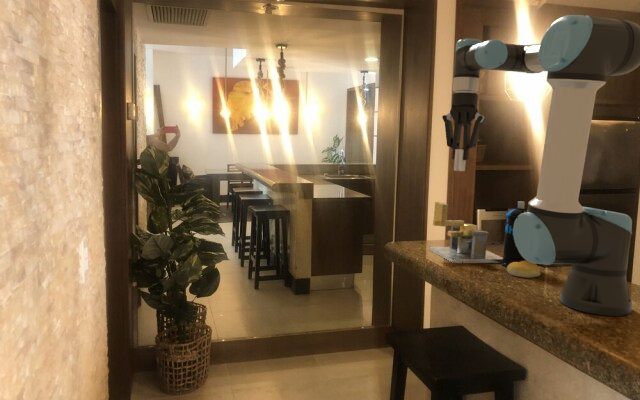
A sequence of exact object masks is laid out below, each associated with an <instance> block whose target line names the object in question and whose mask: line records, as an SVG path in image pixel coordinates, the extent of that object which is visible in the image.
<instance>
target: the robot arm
mask: <svg viewBox="0 0 640 400" xmlns="http://www.w3.org/2000/svg"><path fill="white" fill-rule="evenodd" d="M542 36H543V37H542V38H541V41H540V42H539V43H534V44H515V43H504V42H503V41H502V40H499V39H487V40H486V41H482V40H480V39H477V38H465V39H459V40H458V41H457V42H456V44H455V51H454V66H453V83H452V91H453V92H454V93H452V94H451V109H450V111H449V112H448V113H447V114H443V115H442V116H441V117H442V120H443V123H444V128H445V138H446V146H447V147H449V148H451V149H452V153H451V159H452V160H454V163H453V171H454V172H455V171H456V172H465V171H466V164H467V163H466V162H467V161H469V158H470V151H471V150H472V149H473V148H474V149H475V148H476V147H477V143H478V139H479V135H480V131H481V128H482V124H483V123H484V121H485V120H486V116H484V115H482V114H480V113H479V110H478V98H479V95H478V92H479V85H480V84H479V83H480V72H481V71H485V70H486V71H487V70H488V71H489V70H490V71H503V72H513V73H514V72H516V73H526V74H540V73H543V72H547V75H546V82H547V83H548V84H549V86H551V88H552V91H551V99H550V105H549V111H548V118H547V126H546V130H545V131H546V132H545V139H544V145H543V153H542V158H541V166H540V171H539V177H538V179H539V180H538V185H537V192H536V196H535V197H533V198H532V199H531V200H529V201H528V203H527V209H526V210H527V212H524V213H522V214H520V215H519V216H518V218H516V220H515V223H514V227H513V235H514V241H515V244H516V247H517V248H518V251H519V253H520V254H521V256H522V257H523V258H524V259H525V260H527V261H528V262H530V263H534V264H536V265H537V264H538V265H544V266H550V265H566V264H567V265H571V266H570V272H569V273H568V276H567V278H566V280H565V282H564V284H563V288H561V291H560V295H559V301H560V303H561V304H562V305H564V306H565V307H568V308H571V309H573V310H576V311H578V312H579V311H580V312H584V313H588V314H594V315H599V316H611V317H612V316H613V317H615V316H616V317H621V316H622V317H623V316H626V315H629V314H631V313H632V309H633V308H632V306H633V301H632V298H631V294H630V290H629V289H630V288H629V285H628V282H627V281H628V280H627V273H628V265H629V257H630V251H631V242H632V235H633V231H632V230H633V229H632V227H633V220H632V218H631V216H629V214H626V213H622V212H617V211H611V210H605V209H600V208H594V207H587V206H582V204H580V202H579V197H580V191H581V185H582V179H583V173H584V168H585V162H586V156H587V150H588V143H589V137H590V132H591V126H592V120H593V112H594V109H595V107H594V106H595V103H596V102H595V101H596V97H597V96H596V95H597V91H598V90H600V89H601V88H602V87H603V86H605V85H606V84H607V79H608V78H607V77H608V76H609V77H610V76H611V77H613V76H614V77H616V76H624V75H627V74H628V73H630V72H633V71H634V70H636V69H637V68H638V67H639V66H640V25H639V24H638V23H635V22H633V21H630V20H627V19H617V18H609V17H603V16H602V17H601V16H595V15H587V14H567V15H563V16H562V17H559V18H558V19H556V20H555V21H553V22H552V23H551V24H550V27H548V28H547V30H546V31H545V32H544V34H543V35H542ZM474 119H475V122H474V125H473V128H472V123H473V121H474ZM452 120H453V122H454V123H452ZM453 126H454V129H453ZM462 127H463V128H462ZM462 129H463V139H462V141H463V142H462V143H463V144H462V148H461V147H460V143H461V136H462ZM471 130H472V132H471Z"/></svg>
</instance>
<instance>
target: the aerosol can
mask: <svg viewBox="0 0 640 400" xmlns="http://www.w3.org/2000/svg"><path fill="white" fill-rule="evenodd" d="M525 205H526V203H525V201H517V205H516V206H517V208H514V209H511V210H509V211H508V212H507V213H506V214H505V216H506V218H505V219H506V220H505V228H504V229H505V231H504V239H503V240H504V242H503V253H502V258H503V262H502V263H501V266H503V267H505V268H507V266H508V265H509V264H510V263H512V262H520V261H527V260H525V259H524V258H523V257H522V256H521V254H520V253H519V251H518V248H517V247H516V244H515V241H514V235H513V227H514V223H515V220H516V218H518V216H519V215H520V214H522V213H524V212H527V210H528V209H526V208H525Z"/></svg>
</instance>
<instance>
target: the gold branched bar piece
mask: <svg viewBox="0 0 640 400" xmlns="http://www.w3.org/2000/svg"><path fill="white" fill-rule="evenodd" d="M448 208H449V204H448V203H444V202H441V201H435V202H434V211H433V212H434V213H433V215H434V216H433V221H432V225H433V226H434V227H436V226H437V227H451V226H460V231H451V230H448V231H447V236H448V237H450V236H451V237H464V238H473V235H472V234H470V230H477V228H478V225H476V224H472V223H465V220H461V219H459V220H458V219H457V220H454V219H449V220H448V210H449V209H448ZM483 231H484V232H486V236H487V238H489V232H488V231H485V230H483Z"/></svg>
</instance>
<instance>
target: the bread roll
mask: <svg viewBox="0 0 640 400" xmlns="http://www.w3.org/2000/svg"><path fill="white" fill-rule="evenodd" d="M506 271H507V273H508V274H509V275H510V276H513V277H514V276H515V277H520V278H528V279H529V278H537V277H540V276H541V269H540V267H539V266H538V265H537V264H534V263H530V262H528V261H520V262H512V263H510V264H509V265H508V266H507V267H506Z"/></svg>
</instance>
